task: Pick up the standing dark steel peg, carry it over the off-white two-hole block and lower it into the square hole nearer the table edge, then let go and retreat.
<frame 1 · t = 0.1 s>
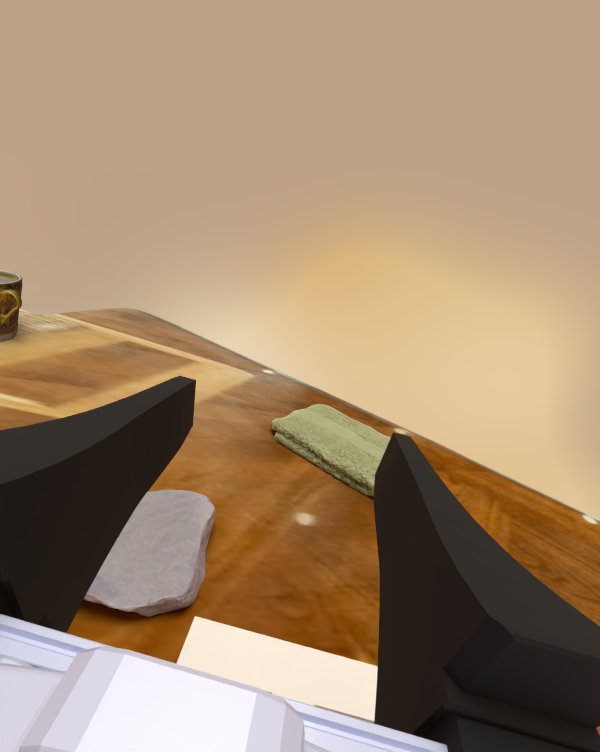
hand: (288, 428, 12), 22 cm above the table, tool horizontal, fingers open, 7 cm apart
stone block: (135, 563, 29), on the table
washcloth: (336, 451, 50), on the table
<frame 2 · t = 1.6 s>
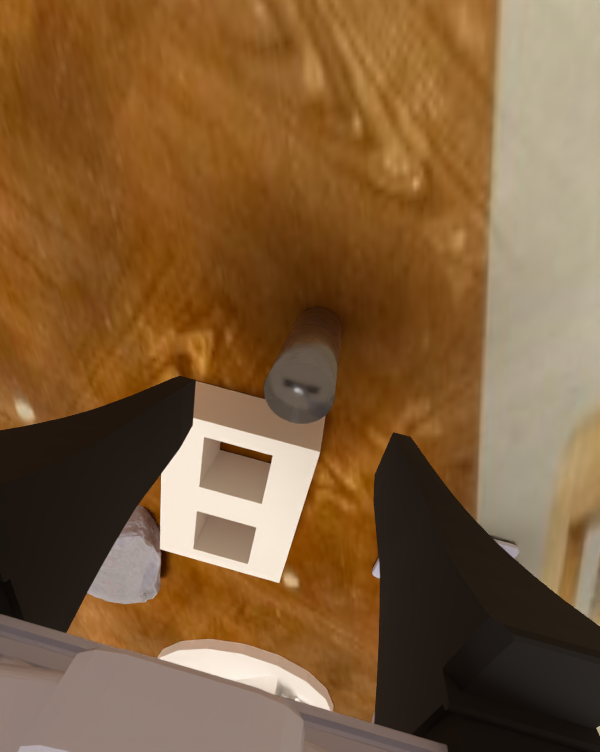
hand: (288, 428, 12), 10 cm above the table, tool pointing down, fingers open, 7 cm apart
dish: (242, 685, 47), on the table
stone block: (127, 536, 35), on the table
peg: (318, 330, 21), on the table
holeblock: (244, 468, 28), on the table
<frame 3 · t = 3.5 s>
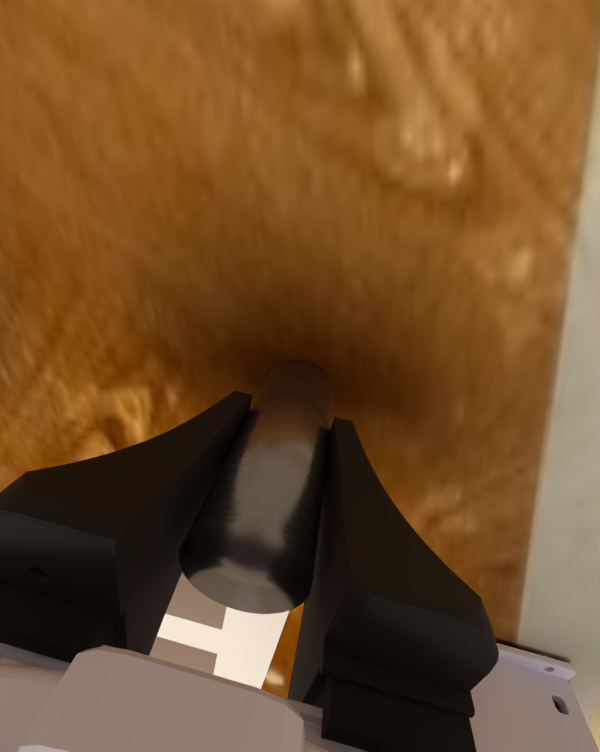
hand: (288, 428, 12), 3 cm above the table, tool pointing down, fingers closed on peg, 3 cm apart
peg: (299, 392, 14), on the table, touching gripper
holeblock: (207, 557, 21), on the table
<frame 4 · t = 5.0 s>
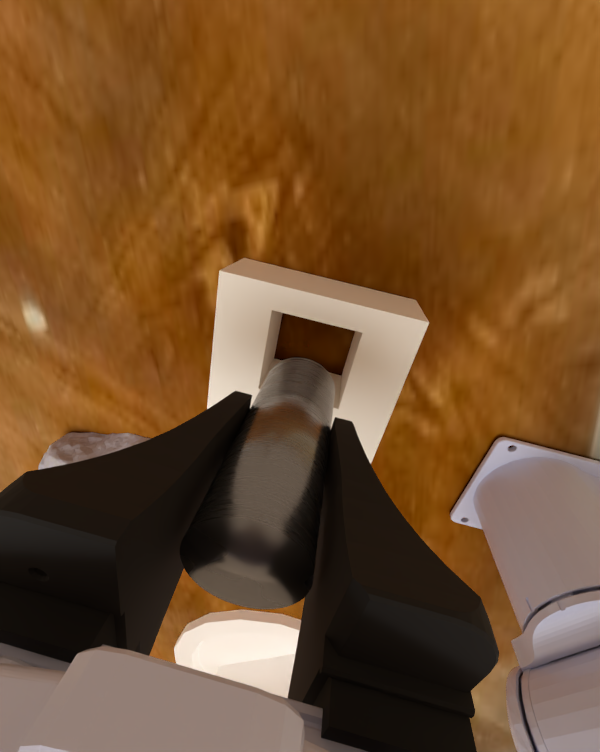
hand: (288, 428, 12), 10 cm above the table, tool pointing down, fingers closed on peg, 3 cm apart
dish: (276, 665, 42), on the table
stone block: (137, 482, 30), on the table
peg: (299, 389, 14), point 7 cm above the table, touching gripper
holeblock: (303, 383, 23), on the table
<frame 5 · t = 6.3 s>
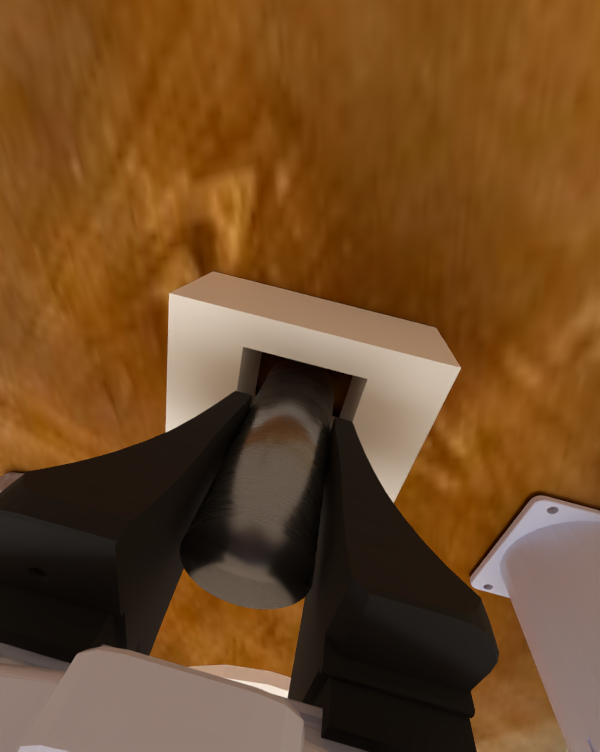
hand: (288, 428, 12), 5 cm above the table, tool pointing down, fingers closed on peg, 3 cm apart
dish: (265, 719, 38), on the table
peg: (299, 389, 14), point 2 cm above the table, touching gripper
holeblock: (291, 425, 18), on the table
when the fingers open (5 cm above the table, at t = 6.9 s): peg drops 2 cm, resting in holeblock.
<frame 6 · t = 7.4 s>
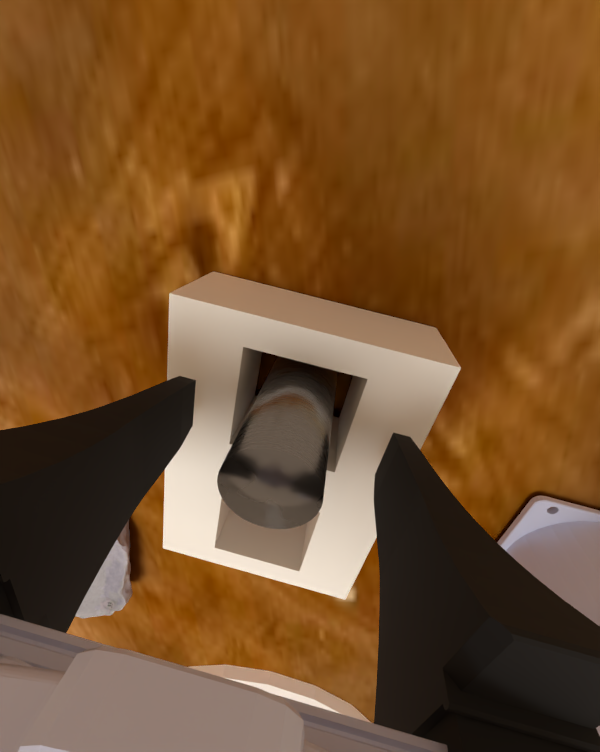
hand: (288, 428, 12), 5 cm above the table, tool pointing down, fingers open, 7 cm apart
dish: (265, 719, 38), on the table
stone block: (86, 526, 26), on the table
peg: (307, 367, 16), resting in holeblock
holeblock: (292, 425, 18), on the table
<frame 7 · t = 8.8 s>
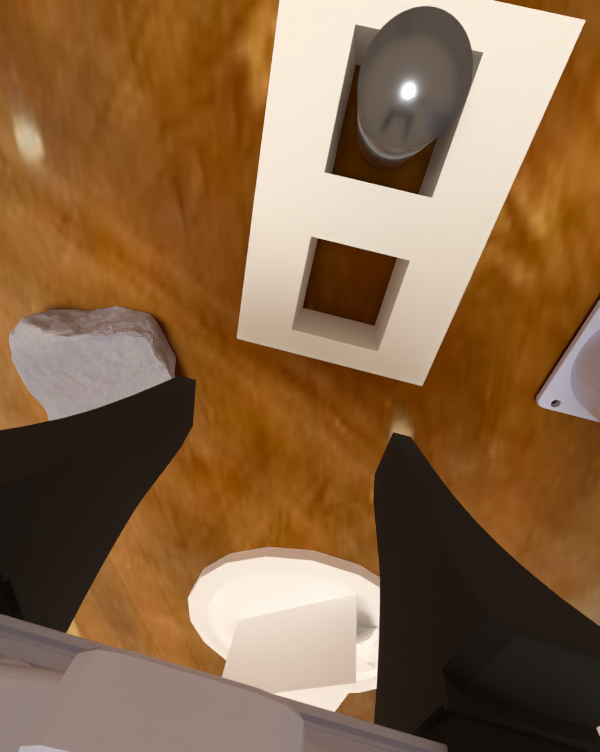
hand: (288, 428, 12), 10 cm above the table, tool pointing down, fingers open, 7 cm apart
dish: (302, 619, 37), on the table
stone block: (130, 380, 26), on the table
peg: (389, 133, 16), resting in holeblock
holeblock: (366, 214, 18), on the table
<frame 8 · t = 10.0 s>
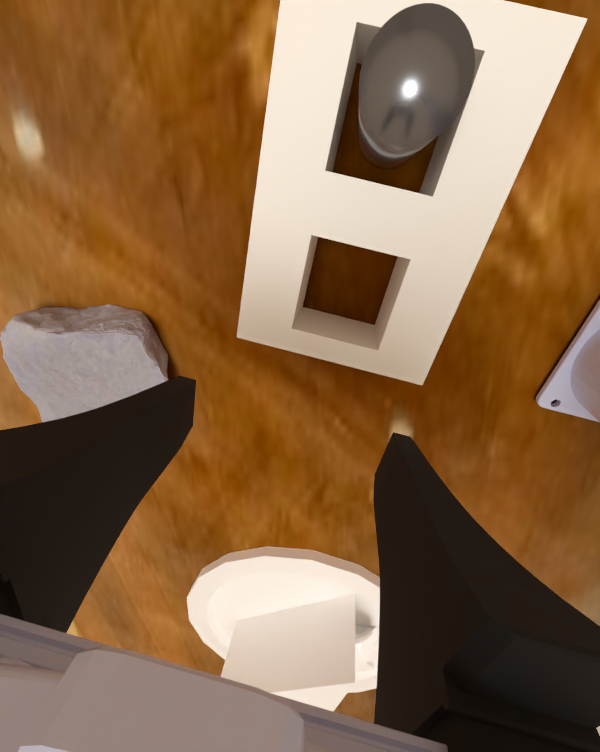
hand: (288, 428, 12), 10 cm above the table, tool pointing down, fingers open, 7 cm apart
dish: (301, 618, 37), on the table
stone block: (123, 378, 26), on the table
peg: (390, 132, 16), resting in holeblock
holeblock: (367, 213, 18), on the table
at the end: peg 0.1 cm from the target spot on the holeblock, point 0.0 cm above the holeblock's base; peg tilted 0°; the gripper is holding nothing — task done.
